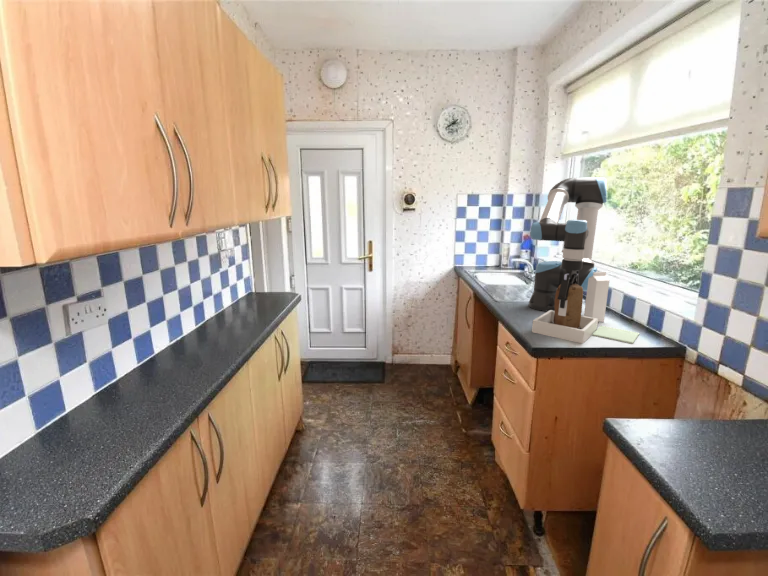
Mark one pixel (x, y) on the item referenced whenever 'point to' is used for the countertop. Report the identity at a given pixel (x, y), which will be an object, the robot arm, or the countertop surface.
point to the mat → (616, 334)
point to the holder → (564, 328)
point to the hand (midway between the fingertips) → (566, 312)
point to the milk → (597, 296)
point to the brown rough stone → (570, 307)
